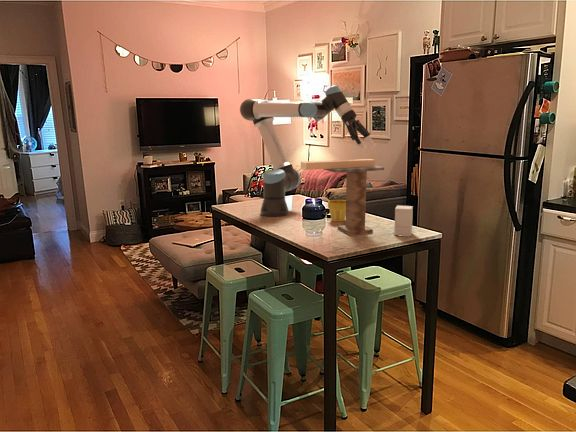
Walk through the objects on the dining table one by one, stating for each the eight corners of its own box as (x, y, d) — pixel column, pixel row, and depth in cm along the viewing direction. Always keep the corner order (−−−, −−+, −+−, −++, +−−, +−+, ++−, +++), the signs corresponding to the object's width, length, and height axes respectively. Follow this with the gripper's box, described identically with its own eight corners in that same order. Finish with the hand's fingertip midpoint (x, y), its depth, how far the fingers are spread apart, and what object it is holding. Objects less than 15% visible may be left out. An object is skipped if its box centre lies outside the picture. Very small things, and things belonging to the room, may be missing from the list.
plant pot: (324, 221, 244) (325, 202, 241) (331, 217, 253) (332, 199, 251) (344, 223, 239) (344, 204, 237) (350, 219, 248) (351, 200, 246)
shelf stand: (333, 237, 214) (334, 169, 207) (321, 230, 226) (322, 166, 220) (381, 232, 221) (384, 167, 215) (366, 225, 234) (368, 164, 228)
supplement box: (412, 233, 221) (413, 205, 218) (410, 237, 214) (412, 209, 211) (395, 231, 223) (396, 205, 220) (393, 235, 216) (394, 208, 213)
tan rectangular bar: (304, 170, 207) (304, 162, 207) (300, 168, 212) (300, 161, 211) (374, 166, 218) (375, 159, 218) (369, 165, 223) (370, 158, 222)
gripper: (342, 109, 232) (365, 145, 230) (361, 108, 253) (382, 142, 251) (330, 118, 236) (353, 154, 234) (350, 117, 257) (371, 150, 255)
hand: (368, 148), depth 242 cm, fingers open, 13 cm apart
